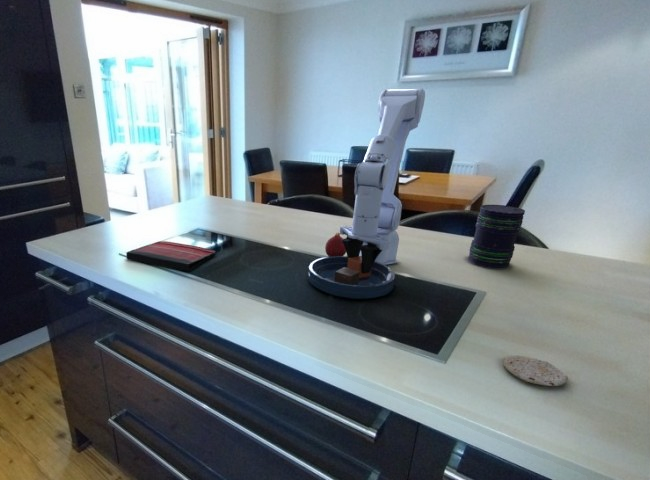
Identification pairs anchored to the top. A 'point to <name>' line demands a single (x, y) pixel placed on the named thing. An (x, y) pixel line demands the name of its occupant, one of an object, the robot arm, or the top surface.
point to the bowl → (366, 288)
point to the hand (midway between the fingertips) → (358, 269)
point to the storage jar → (495, 236)
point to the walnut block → (347, 276)
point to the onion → (335, 246)
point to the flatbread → (534, 371)
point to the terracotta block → (357, 265)
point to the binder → (171, 255)
